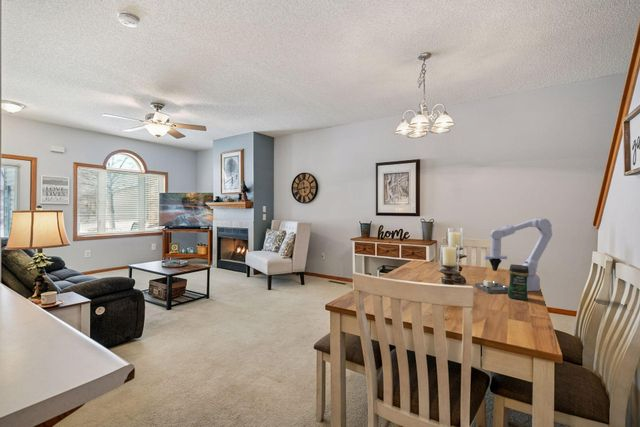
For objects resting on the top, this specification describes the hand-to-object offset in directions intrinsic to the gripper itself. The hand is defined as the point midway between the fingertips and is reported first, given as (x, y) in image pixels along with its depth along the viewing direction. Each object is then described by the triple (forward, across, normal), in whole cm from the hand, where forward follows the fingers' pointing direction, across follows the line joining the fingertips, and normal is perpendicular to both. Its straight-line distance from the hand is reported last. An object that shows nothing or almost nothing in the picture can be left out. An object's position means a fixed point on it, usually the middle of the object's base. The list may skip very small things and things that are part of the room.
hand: (494, 270), depth 209 cm
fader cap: (+8, +9, +6) cm, 13 cm away
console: (+10, +4, +6) cm, 13 cm away
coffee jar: (+10, +1, +22) cm, 24 cm away
